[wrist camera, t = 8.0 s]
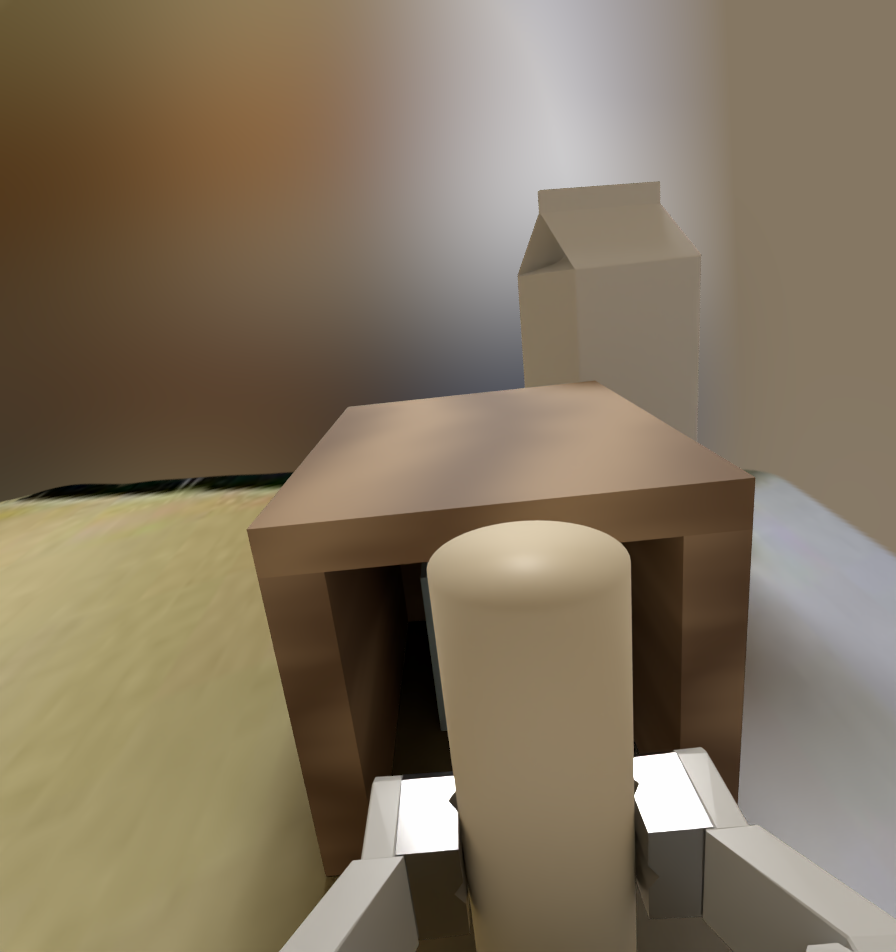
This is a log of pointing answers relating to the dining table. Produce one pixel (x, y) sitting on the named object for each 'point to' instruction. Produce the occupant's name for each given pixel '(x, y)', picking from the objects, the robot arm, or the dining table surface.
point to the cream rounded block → (539, 730)
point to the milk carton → (613, 299)
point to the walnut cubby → (484, 504)
